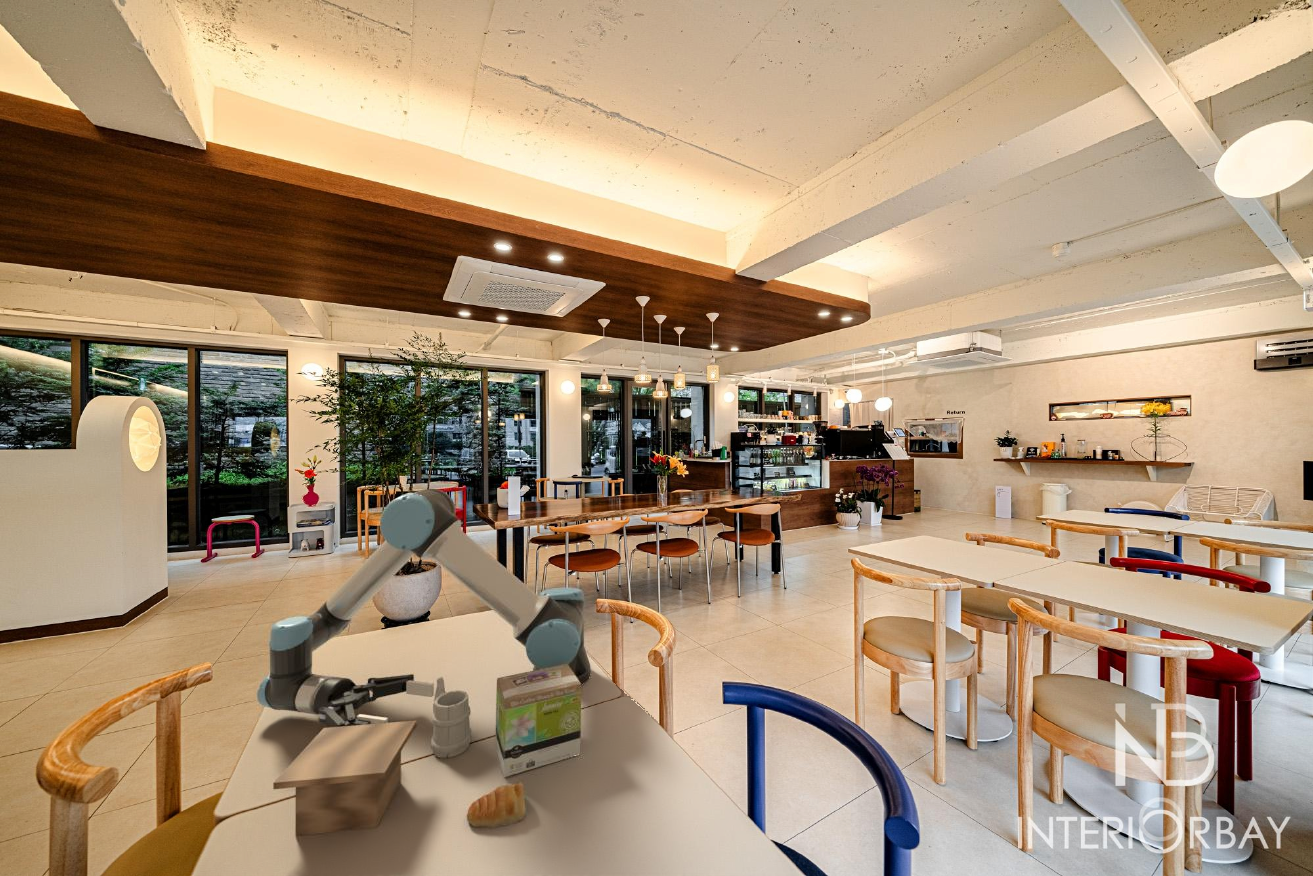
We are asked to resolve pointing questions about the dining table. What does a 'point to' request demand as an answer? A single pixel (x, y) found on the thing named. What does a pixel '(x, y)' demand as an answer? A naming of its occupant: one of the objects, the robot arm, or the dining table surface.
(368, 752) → the walnut stand
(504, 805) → the pastry
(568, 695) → the tea box
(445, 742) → the mug
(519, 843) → the dining table surface
